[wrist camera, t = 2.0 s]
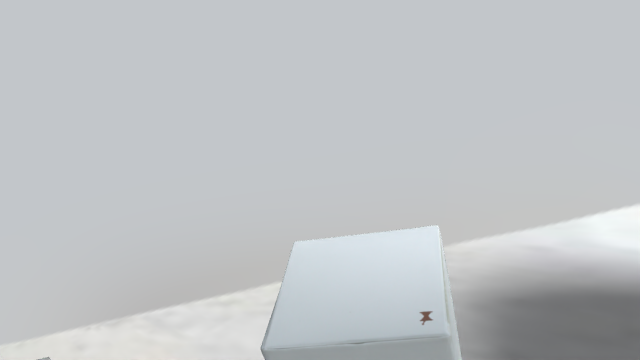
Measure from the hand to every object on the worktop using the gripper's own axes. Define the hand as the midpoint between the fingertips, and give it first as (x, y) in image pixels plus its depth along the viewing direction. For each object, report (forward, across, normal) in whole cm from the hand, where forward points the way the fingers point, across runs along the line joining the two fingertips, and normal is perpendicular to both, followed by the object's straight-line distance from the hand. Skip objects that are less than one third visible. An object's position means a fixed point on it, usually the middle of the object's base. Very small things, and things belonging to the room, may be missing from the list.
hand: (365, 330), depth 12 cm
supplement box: (+10, +1, -19) cm, 22 cm away
